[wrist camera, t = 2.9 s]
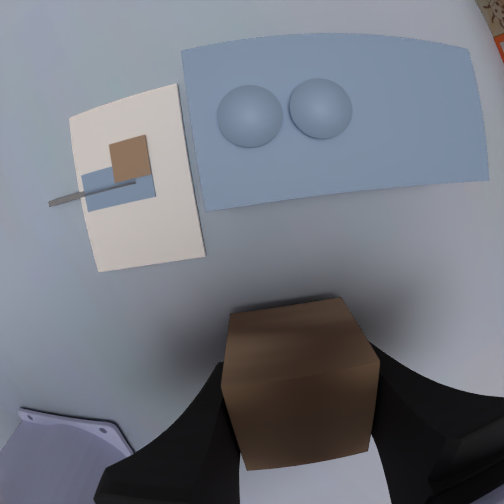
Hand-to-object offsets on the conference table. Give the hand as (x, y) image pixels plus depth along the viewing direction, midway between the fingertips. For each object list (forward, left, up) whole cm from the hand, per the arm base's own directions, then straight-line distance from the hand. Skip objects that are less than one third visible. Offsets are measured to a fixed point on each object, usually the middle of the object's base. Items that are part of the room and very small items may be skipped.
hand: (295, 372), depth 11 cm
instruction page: (-5, +8, -2) cm, 10 cm away
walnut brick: (0, 0, -2) cm, 2 cm away
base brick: (+3, +9, -2) cm, 10 cm away
